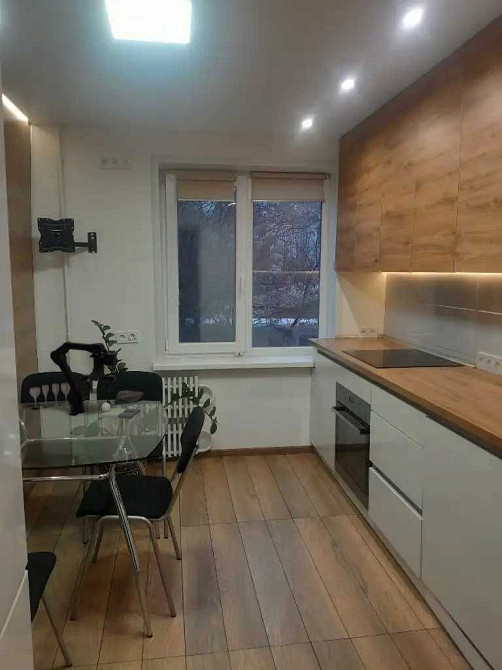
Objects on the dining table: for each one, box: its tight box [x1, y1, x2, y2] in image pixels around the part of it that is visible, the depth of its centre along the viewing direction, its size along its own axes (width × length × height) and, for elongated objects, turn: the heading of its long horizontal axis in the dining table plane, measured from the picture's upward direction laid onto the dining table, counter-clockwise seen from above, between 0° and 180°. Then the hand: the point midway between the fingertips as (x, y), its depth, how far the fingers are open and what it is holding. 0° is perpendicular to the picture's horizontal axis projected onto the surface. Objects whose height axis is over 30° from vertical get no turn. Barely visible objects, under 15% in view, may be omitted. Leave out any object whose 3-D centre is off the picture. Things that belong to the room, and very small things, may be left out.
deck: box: [99, 407, 141, 419], centre depth 277 cm, size 18×14×2 cm
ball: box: [101, 402, 112, 412], centre depth 278 cm, size 5×5×5 cm
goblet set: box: [29, 382, 71, 407], centre depth 296 cm, size 28×6×13 cm, turn 116°
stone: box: [113, 389, 145, 405], centre depth 300 cm, size 18×9×10 cm
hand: (99, 393), depth 277 cm, fingers open, 9 cm apart
